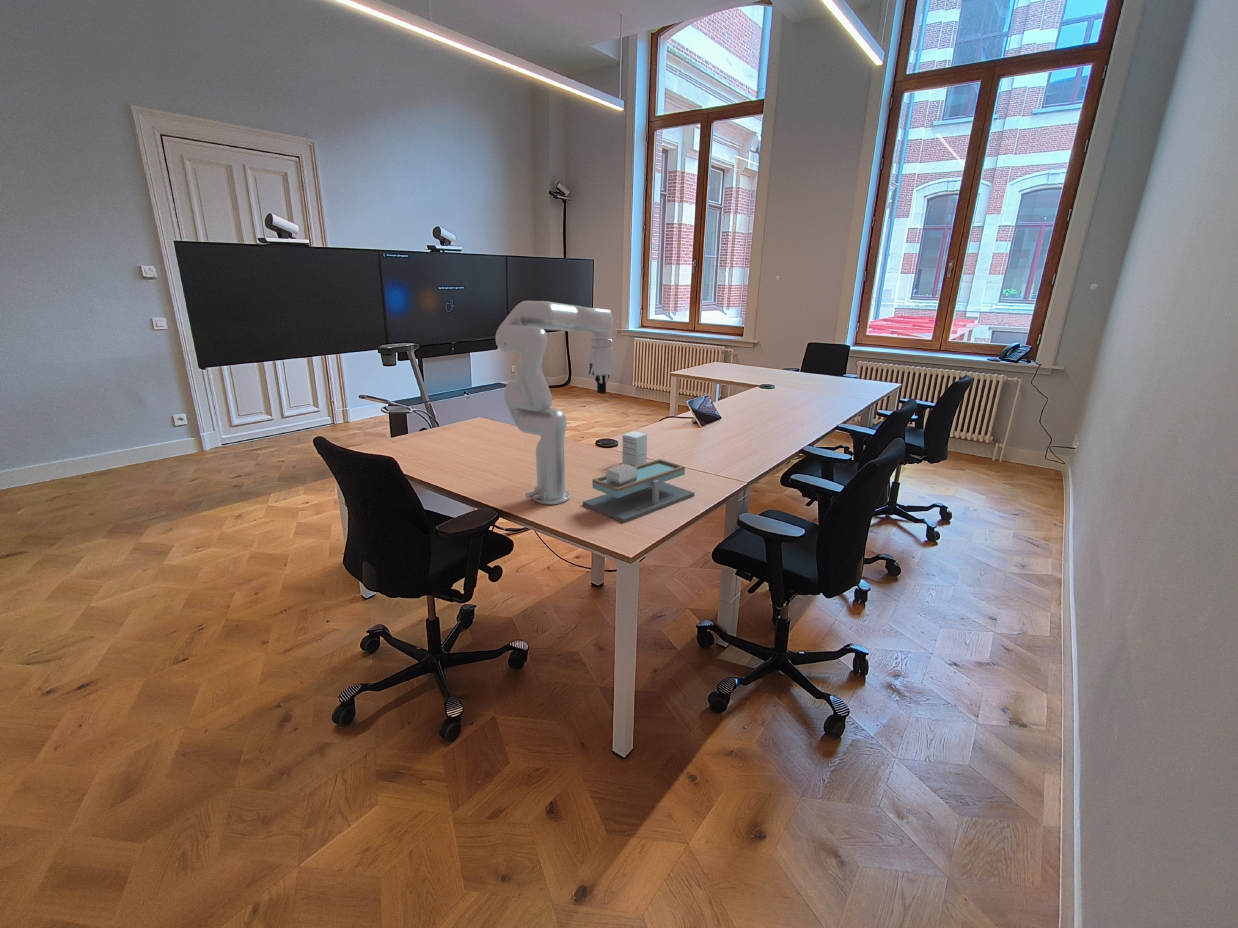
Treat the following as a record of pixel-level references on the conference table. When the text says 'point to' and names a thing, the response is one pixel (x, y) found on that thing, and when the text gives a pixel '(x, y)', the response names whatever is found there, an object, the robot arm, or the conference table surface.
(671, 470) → the beam
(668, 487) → the stand
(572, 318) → the robot arm
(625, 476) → the steel block
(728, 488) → the conference table surface
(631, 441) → the supplement box
